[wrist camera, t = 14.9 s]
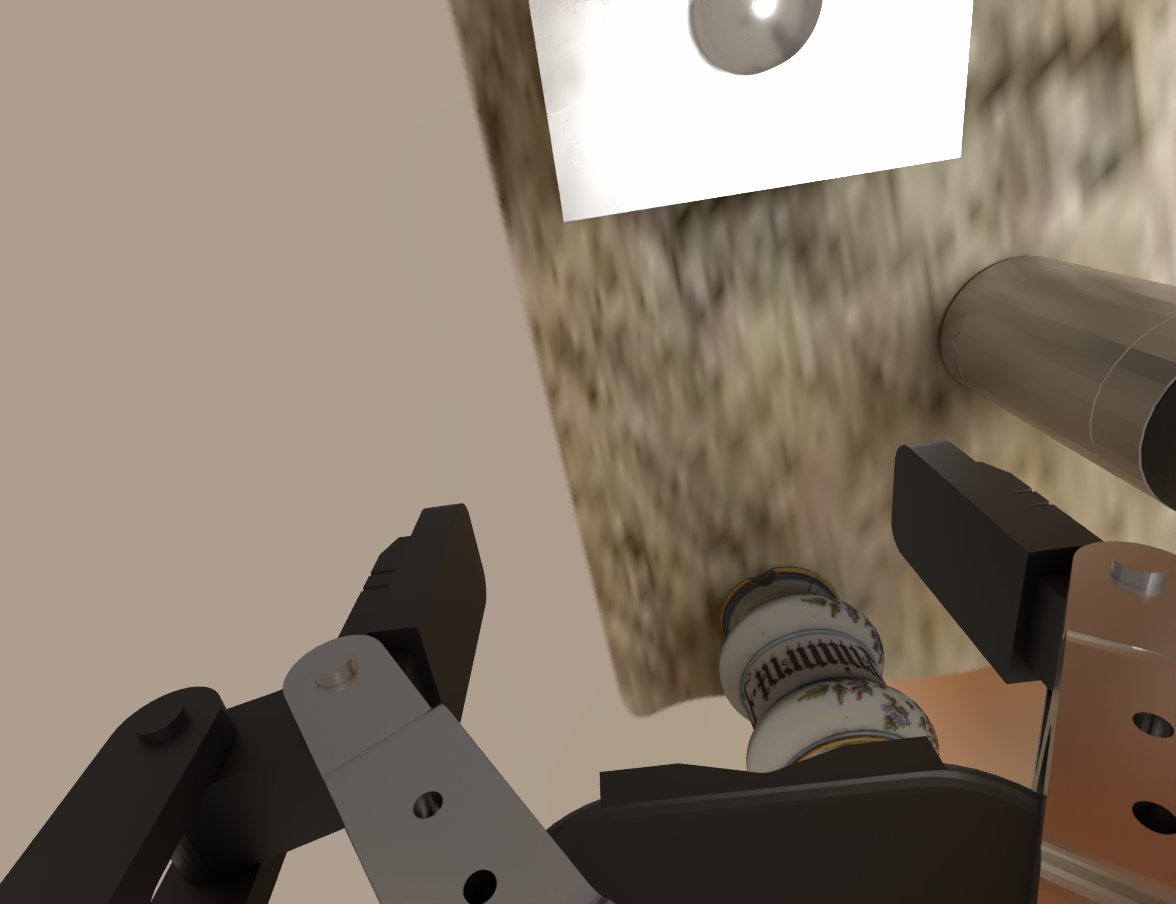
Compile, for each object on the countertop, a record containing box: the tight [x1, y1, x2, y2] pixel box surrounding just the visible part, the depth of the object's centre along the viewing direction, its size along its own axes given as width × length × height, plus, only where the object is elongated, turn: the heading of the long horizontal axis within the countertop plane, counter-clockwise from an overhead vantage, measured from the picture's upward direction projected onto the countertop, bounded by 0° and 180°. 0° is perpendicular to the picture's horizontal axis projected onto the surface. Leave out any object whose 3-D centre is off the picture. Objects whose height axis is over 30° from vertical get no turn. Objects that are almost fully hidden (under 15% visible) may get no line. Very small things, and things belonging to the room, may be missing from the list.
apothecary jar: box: [719, 567, 939, 773], centre depth 45 cm, size 12×12×18 cm
